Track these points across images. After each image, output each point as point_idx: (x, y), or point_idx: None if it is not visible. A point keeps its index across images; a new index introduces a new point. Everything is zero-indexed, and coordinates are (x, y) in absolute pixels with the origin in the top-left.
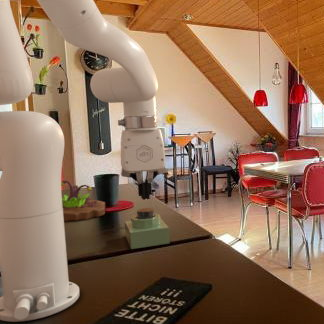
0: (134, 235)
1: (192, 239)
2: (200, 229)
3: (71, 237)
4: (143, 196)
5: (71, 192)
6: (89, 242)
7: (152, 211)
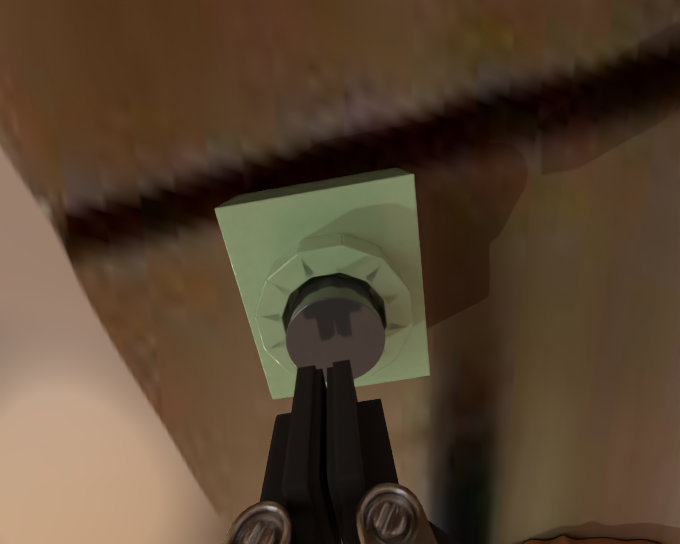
0: (391, 175)
1: (140, 221)
2: (120, 342)
3: (595, 380)
4: (346, 373)
5: None
6: (544, 308)
7: (292, 316)
